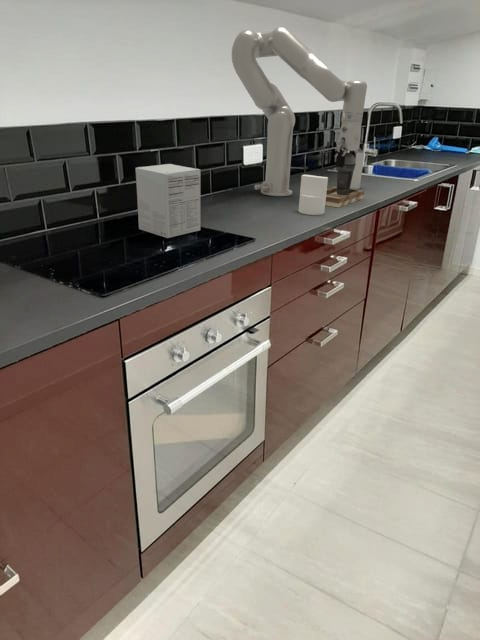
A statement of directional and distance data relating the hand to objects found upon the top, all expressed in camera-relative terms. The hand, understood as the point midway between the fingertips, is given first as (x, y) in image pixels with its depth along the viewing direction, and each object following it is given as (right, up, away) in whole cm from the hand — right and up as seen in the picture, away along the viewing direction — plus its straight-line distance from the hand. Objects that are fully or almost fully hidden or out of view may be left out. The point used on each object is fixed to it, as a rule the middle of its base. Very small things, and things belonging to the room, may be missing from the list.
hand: (345, 165), depth 189 cm
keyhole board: (-3, -13, +1) cm, 13 cm away
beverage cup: (0, -10, +5) cm, 11 cm away
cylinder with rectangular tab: (-16, -22, -18) cm, 32 cm away
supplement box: (-61, -33, -45) cm, 83 cm away
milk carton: (+8, -1, +27) cm, 28 cm away
